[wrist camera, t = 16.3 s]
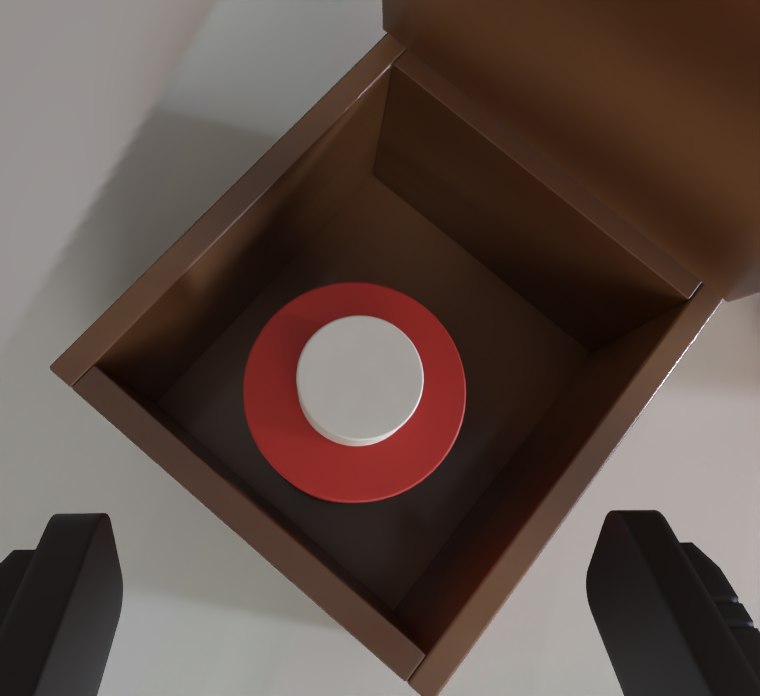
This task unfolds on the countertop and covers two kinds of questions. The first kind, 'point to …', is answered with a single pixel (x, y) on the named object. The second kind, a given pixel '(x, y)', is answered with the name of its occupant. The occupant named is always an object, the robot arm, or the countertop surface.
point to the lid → (622, 108)
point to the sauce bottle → (354, 392)
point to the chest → (453, 310)
